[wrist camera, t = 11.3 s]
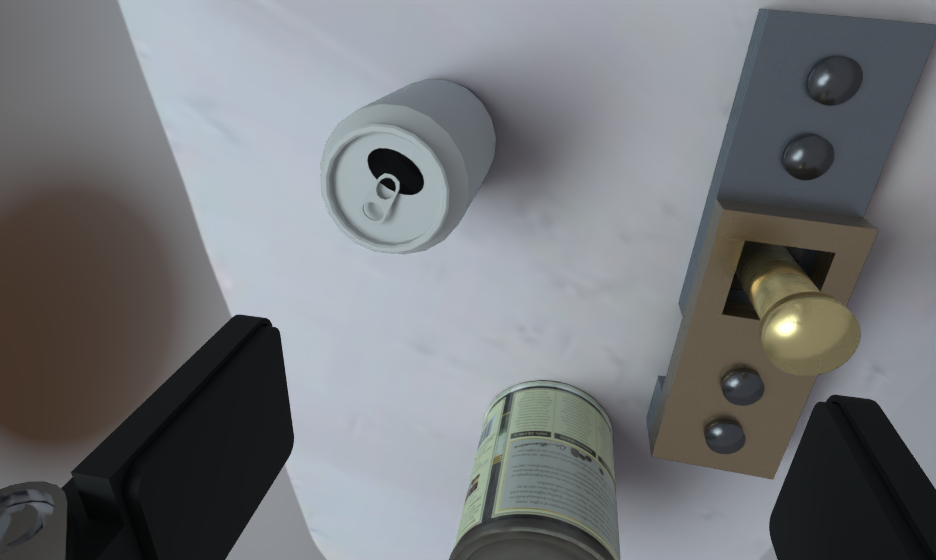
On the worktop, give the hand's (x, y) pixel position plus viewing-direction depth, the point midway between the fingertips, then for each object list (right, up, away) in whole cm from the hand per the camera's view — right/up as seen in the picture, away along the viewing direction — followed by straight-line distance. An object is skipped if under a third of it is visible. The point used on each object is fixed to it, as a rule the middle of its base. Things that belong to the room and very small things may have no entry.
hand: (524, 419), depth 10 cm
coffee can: (+5, -9, +36) cm, 37 cm away
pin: (+17, +4, +27) cm, 32 cm away
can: (-3, +12, +27) cm, 30 cm away
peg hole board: (+17, +4, +27) cm, 32 cm away
